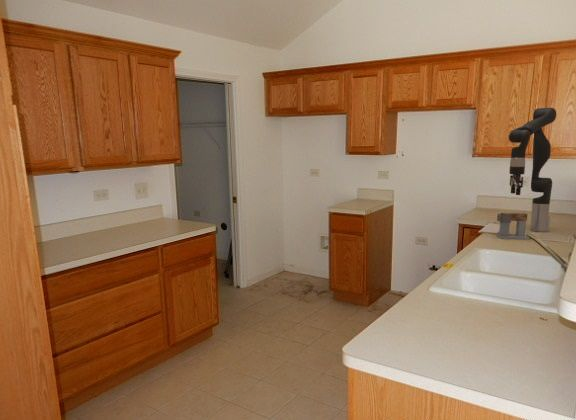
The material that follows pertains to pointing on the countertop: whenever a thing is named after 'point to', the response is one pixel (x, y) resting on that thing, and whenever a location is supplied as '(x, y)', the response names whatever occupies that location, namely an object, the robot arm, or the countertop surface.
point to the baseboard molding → (490, 229)
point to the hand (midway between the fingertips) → (515, 194)
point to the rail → (516, 216)
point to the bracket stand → (504, 228)
